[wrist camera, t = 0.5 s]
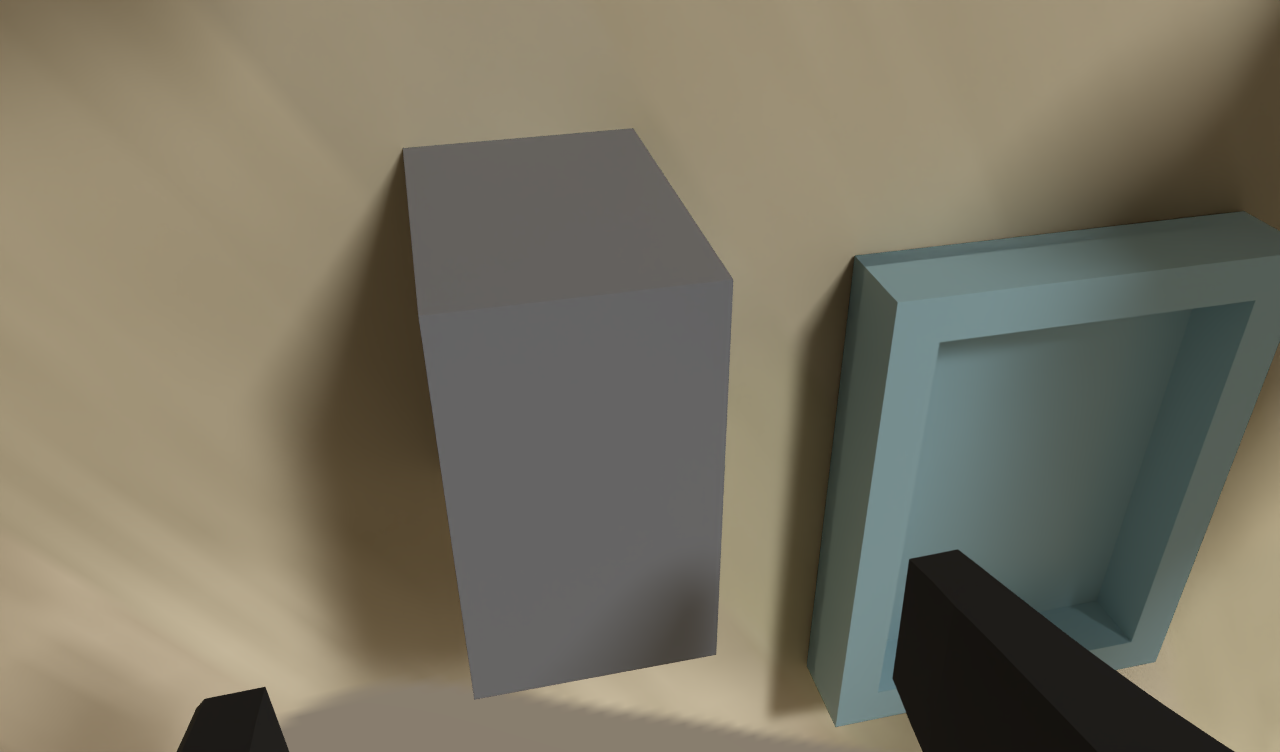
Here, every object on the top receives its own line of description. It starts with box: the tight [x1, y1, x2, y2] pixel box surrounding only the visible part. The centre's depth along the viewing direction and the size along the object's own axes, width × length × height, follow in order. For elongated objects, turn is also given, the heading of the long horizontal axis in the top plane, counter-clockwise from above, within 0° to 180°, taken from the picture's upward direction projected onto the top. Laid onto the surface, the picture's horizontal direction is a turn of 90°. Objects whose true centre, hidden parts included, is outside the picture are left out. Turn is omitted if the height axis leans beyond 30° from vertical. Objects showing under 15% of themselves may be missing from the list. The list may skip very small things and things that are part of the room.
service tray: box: [807, 211, 1280, 727], centre depth 24 cm, size 9×12×2 cm
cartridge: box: [403, 128, 733, 699], centre depth 17 cm, size 4×7×6 cm, turn 1°
